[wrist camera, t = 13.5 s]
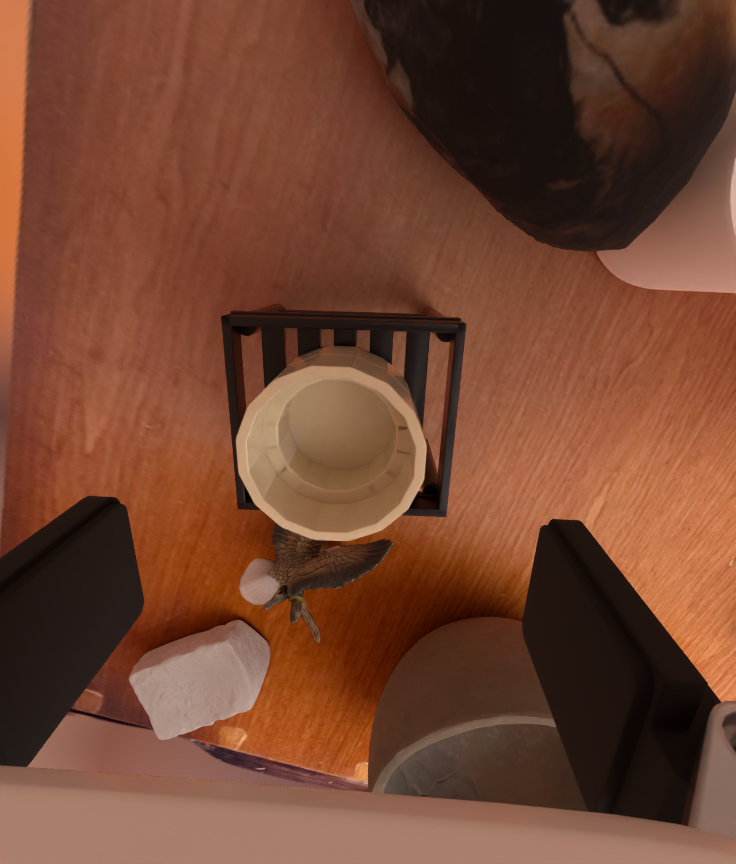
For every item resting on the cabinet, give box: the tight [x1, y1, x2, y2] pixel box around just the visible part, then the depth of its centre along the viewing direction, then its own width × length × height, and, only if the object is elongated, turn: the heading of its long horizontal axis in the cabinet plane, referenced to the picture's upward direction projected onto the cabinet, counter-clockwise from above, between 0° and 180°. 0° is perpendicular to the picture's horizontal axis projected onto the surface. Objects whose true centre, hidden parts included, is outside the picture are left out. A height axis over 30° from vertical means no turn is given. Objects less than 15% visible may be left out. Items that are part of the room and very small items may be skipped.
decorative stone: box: [349, 0, 736, 251], centre depth 14 cm, size 18×9×15 cm, turn 36°
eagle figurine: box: [239, 523, 394, 643], centre depth 28 cm, size 8×7×9 cm
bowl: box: [368, 617, 589, 812], centre depth 30 cm, size 17×18×10 cm
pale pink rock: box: [129, 620, 270, 740], centre depth 33 cm, size 10×6×6 cm, turn 111°
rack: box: [221, 304, 466, 517], centre depth 23 cm, size 10×9×8 cm
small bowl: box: [236, 346, 427, 541], centre depth 18 cm, size 7×7×5 cm
